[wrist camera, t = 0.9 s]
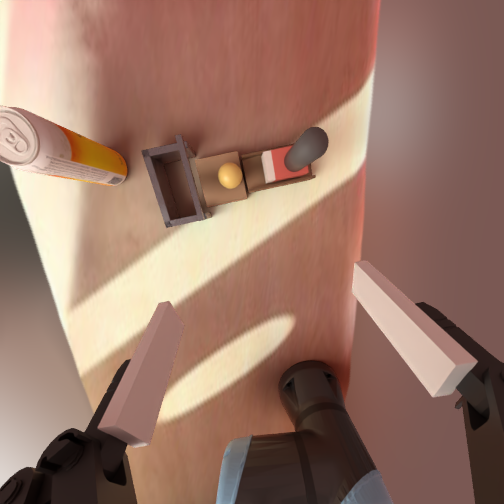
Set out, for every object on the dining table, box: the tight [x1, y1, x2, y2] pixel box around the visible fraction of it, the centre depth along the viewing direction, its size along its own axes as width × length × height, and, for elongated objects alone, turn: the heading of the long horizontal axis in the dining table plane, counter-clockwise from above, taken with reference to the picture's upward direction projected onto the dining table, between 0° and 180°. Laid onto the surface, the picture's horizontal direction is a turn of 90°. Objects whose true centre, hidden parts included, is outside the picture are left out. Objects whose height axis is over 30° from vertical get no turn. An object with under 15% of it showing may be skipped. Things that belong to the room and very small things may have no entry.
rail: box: [242, 144, 315, 193], centre depth 33 cm, size 6×12×3 cm, turn 102°
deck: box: [195, 151, 247, 207], centre depth 33 cm, size 8×8×2 cm
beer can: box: [0, 106, 127, 186], centre depth 25 cm, size 6×6×15 cm
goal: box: [142, 134, 211, 228], centre depth 30 cm, size 12×7×8 cm, turn 12°
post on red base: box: [261, 127, 328, 183], centre depth 27 cm, size 4×7×11 cm, turn 102°
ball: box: [218, 163, 242, 189], centre depth 30 cm, size 4×4×4 cm
